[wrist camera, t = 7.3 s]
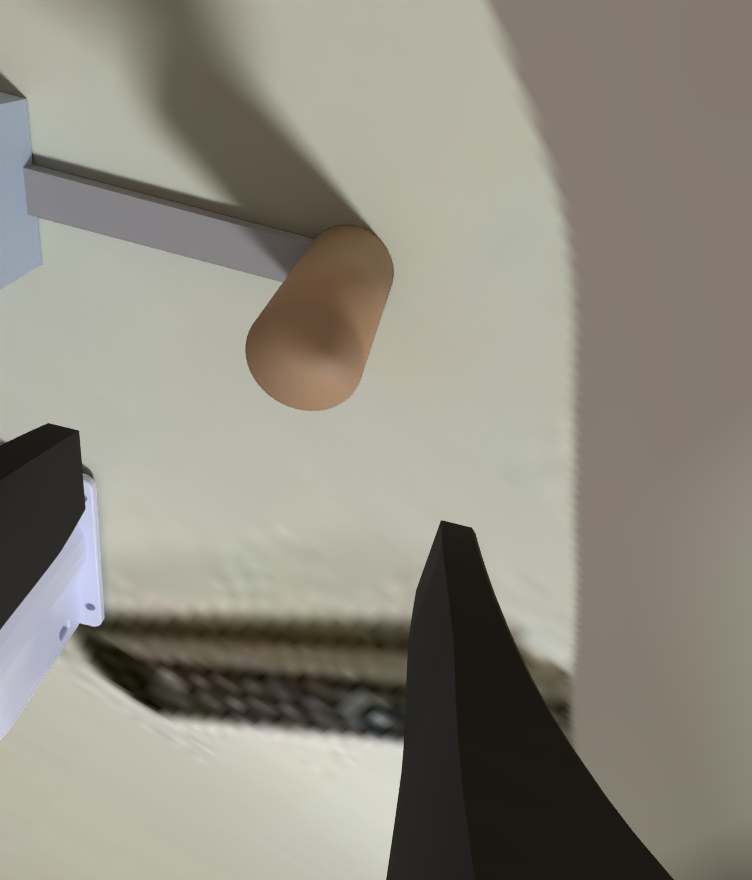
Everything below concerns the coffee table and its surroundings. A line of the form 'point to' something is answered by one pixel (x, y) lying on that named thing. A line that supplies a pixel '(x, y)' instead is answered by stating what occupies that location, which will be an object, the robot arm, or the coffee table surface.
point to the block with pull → (222, 243)
